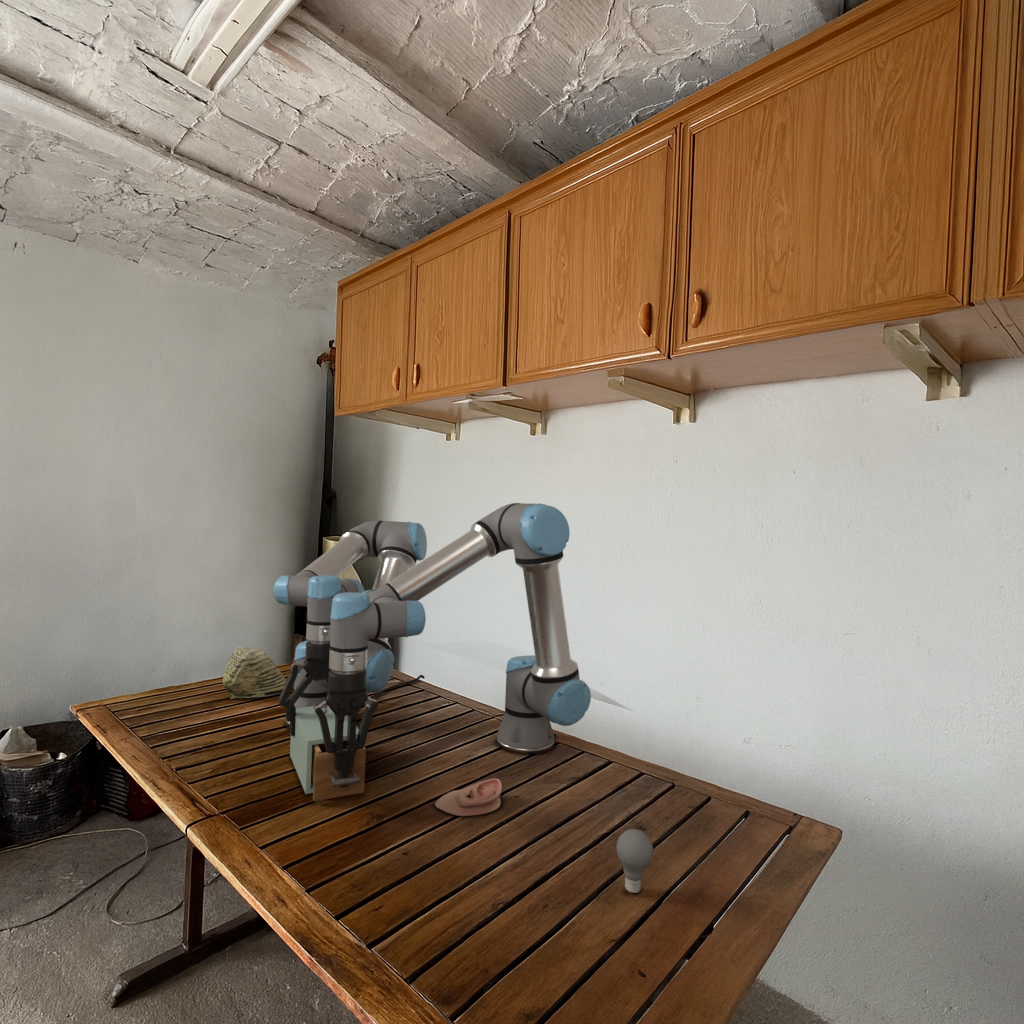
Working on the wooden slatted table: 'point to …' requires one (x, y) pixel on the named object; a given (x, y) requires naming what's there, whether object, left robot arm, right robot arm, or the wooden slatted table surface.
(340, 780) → the drawer
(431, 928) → the wooden slatted table surface
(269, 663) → the fossil
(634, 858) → the light bulb
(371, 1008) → the wooden slatted table surface
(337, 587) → the left robot arm
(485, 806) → the anatomical model
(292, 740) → the cabinet
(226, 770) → the wooden slatted table surface
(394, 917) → the wooden slatted table surface
